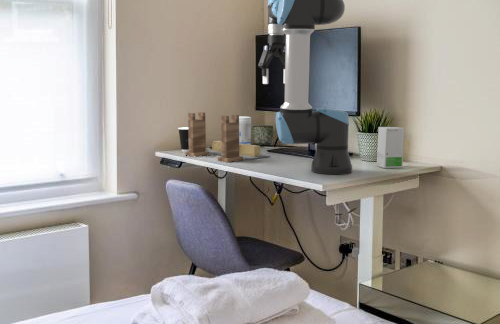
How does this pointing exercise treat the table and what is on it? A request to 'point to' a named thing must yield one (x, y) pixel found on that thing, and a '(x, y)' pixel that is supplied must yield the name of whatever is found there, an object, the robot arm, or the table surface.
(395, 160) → the skincare box
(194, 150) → the walnut rail stand
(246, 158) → the charcoal rubber mat
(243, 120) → the supplement tub
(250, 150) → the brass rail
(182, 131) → the dixie cup
